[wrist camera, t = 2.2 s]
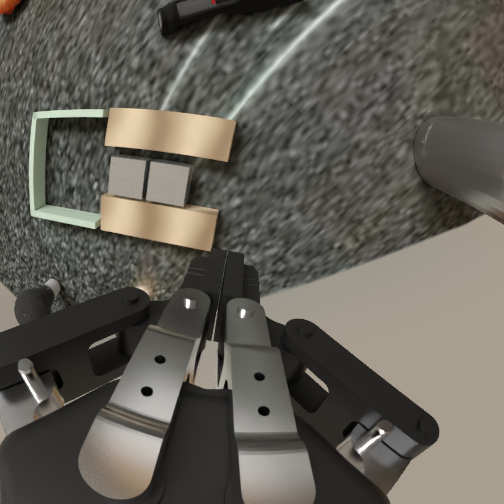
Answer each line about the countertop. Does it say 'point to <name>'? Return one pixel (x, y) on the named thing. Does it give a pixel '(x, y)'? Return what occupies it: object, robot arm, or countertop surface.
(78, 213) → the box
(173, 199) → the metal chip
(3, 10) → the tomato
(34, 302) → the light bulb
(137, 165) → the metal chip
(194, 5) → the electric trimmer
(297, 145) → the countertop surface
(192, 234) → the slot rails
